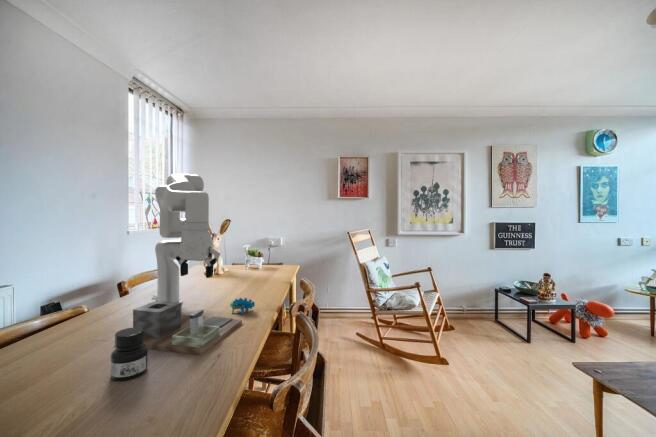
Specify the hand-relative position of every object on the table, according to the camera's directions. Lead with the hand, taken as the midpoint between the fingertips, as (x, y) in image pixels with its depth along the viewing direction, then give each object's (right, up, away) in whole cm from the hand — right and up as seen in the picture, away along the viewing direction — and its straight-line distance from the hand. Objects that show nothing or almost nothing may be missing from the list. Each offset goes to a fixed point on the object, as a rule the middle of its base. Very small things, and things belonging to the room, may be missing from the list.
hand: (196, 276), depth 106 cm
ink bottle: (-11, -25, -19) cm, 33 cm away
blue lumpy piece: (+6, -23, +34) cm, 42 cm away
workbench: (-9, -24, +9) cm, 27 cm away
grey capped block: (0, -22, 0) cm, 22 cm away
